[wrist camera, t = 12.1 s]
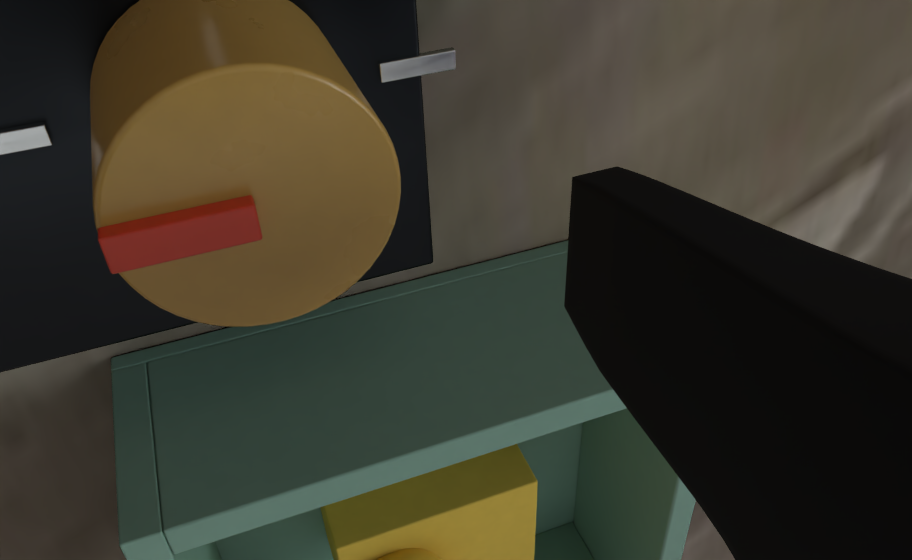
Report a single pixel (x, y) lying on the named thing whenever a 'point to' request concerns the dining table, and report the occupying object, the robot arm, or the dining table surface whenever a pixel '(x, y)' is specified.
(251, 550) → the basin
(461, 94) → the dining table surface
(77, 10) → the black dial box
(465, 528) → the toy duck
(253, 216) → the tap knob
